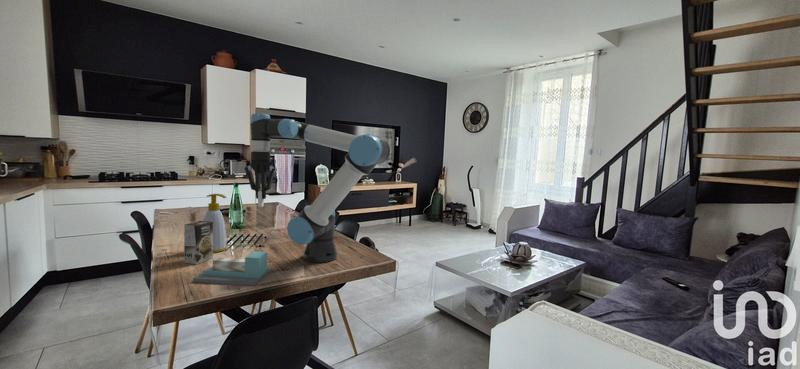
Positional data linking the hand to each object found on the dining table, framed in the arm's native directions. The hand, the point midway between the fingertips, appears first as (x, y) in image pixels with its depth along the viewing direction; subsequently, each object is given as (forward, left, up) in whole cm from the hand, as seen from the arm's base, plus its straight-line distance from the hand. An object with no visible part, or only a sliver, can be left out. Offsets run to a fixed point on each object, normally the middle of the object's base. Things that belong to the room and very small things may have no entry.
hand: (261, 206), depth 146 cm
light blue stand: (+2, +20, -24) cm, 31 cm away
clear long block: (+1, +20, -22) cm, 30 cm away
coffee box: (+24, +5, -24) cm, 34 cm away
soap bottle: (+26, -10, -24) cm, 36 cm away
